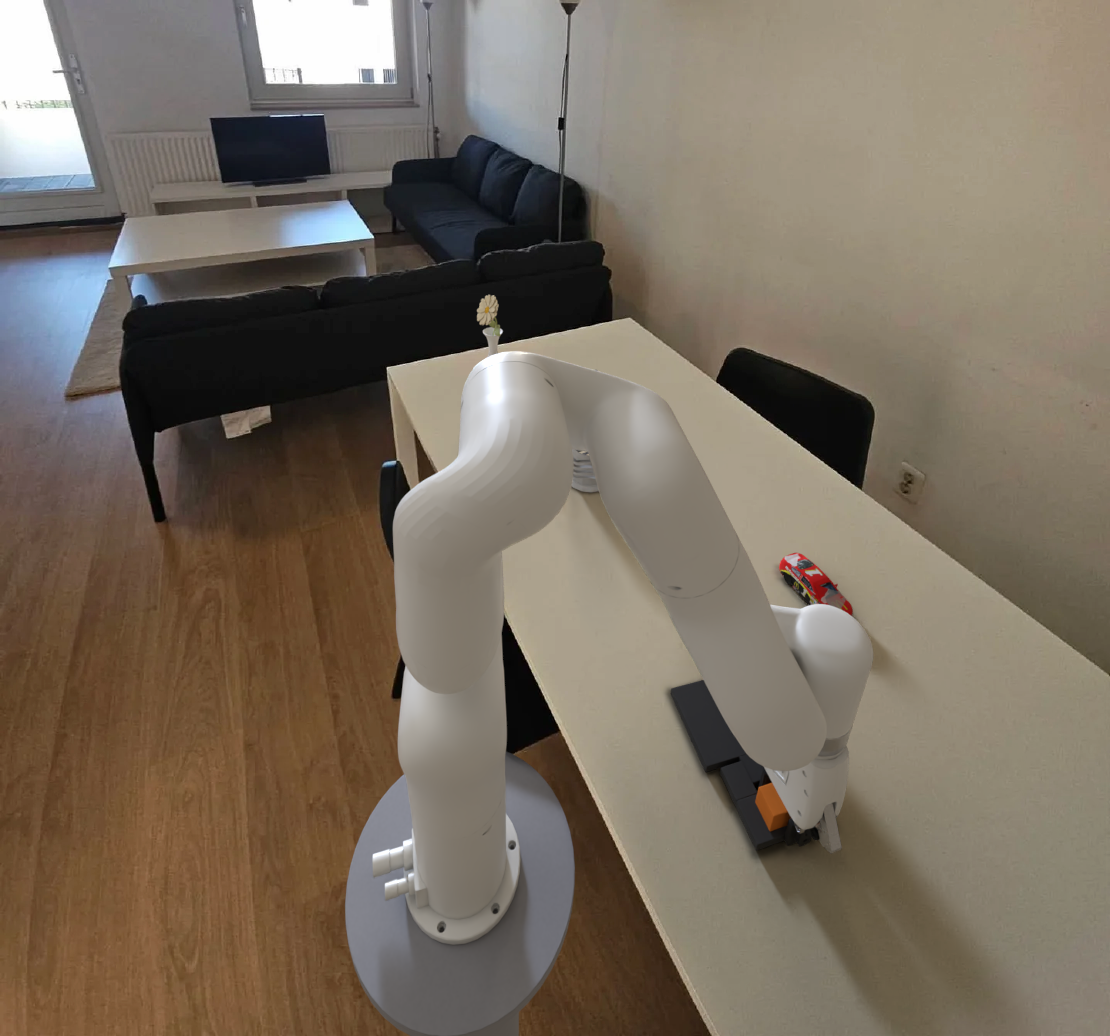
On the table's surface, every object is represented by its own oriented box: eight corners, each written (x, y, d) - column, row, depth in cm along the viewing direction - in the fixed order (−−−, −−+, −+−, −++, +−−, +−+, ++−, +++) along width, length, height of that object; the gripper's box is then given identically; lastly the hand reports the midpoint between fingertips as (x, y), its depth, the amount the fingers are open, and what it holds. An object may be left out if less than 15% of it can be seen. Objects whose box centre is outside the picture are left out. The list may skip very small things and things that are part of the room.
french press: (573, 455, 130) (577, 353, 120) (625, 468, 127) (635, 364, 117) (558, 485, 121) (561, 377, 112) (614, 499, 118) (623, 390, 108)
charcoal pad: (717, 800, 72) (718, 794, 71) (670, 694, 83) (671, 688, 83) (804, 771, 75) (806, 765, 74) (746, 673, 86) (748, 667, 86)
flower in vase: (470, 368, 163) (467, 282, 153) (512, 366, 165) (512, 281, 155) (473, 395, 151) (470, 303, 141) (518, 391, 153) (519, 301, 143)
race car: (858, 624, 94) (864, 605, 93) (831, 635, 92) (837, 616, 91) (798, 560, 105) (803, 543, 104) (773, 568, 104) (777, 551, 102)
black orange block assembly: (755, 851, 67) (761, 830, 66) (719, 773, 74) (723, 752, 73) (832, 823, 70) (839, 801, 68) (790, 750, 77) (795, 729, 75)
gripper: (736, 648, 70) (718, 746, 77) (835, 815, 55) (800, 918, 62) (792, 632, 71) (769, 730, 79) (903, 790, 56) (862, 893, 64)
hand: (783, 812), depth 70 cm, fingers closed on black orange block assembly, 4 cm apart
